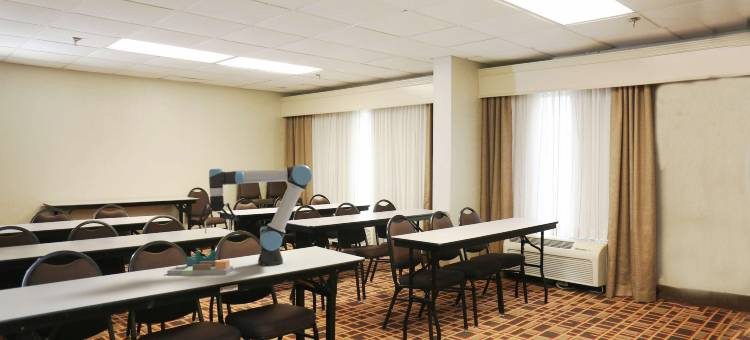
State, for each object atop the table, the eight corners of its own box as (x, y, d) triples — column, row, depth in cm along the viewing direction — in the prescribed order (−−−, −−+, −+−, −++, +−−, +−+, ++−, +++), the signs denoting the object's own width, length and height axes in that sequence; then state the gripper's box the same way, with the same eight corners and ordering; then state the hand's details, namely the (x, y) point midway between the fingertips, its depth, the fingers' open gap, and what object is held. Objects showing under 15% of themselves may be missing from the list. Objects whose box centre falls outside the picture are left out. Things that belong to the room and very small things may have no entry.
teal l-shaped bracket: (214, 268, 316) (215, 251, 316) (196, 269, 309) (197, 251, 310) (203, 264, 330) (205, 247, 331) (186, 265, 324) (187, 248, 324)
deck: (232, 270, 307) (232, 260, 306) (226, 274, 295) (225, 264, 294) (176, 270, 308) (176, 261, 308) (167, 275, 296) (167, 265, 296)
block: (229, 267, 304) (229, 260, 304) (225, 269, 298) (225, 262, 298) (219, 267, 304) (219, 260, 304) (215, 269, 298) (215, 262, 298)
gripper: (238, 193, 312) (239, 229, 312) (194, 196, 305) (195, 232, 305) (239, 194, 305) (240, 231, 305) (193, 196, 297) (195, 234, 298)
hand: (218, 232), depth 305 cm, fingers open, 13 cm apart
